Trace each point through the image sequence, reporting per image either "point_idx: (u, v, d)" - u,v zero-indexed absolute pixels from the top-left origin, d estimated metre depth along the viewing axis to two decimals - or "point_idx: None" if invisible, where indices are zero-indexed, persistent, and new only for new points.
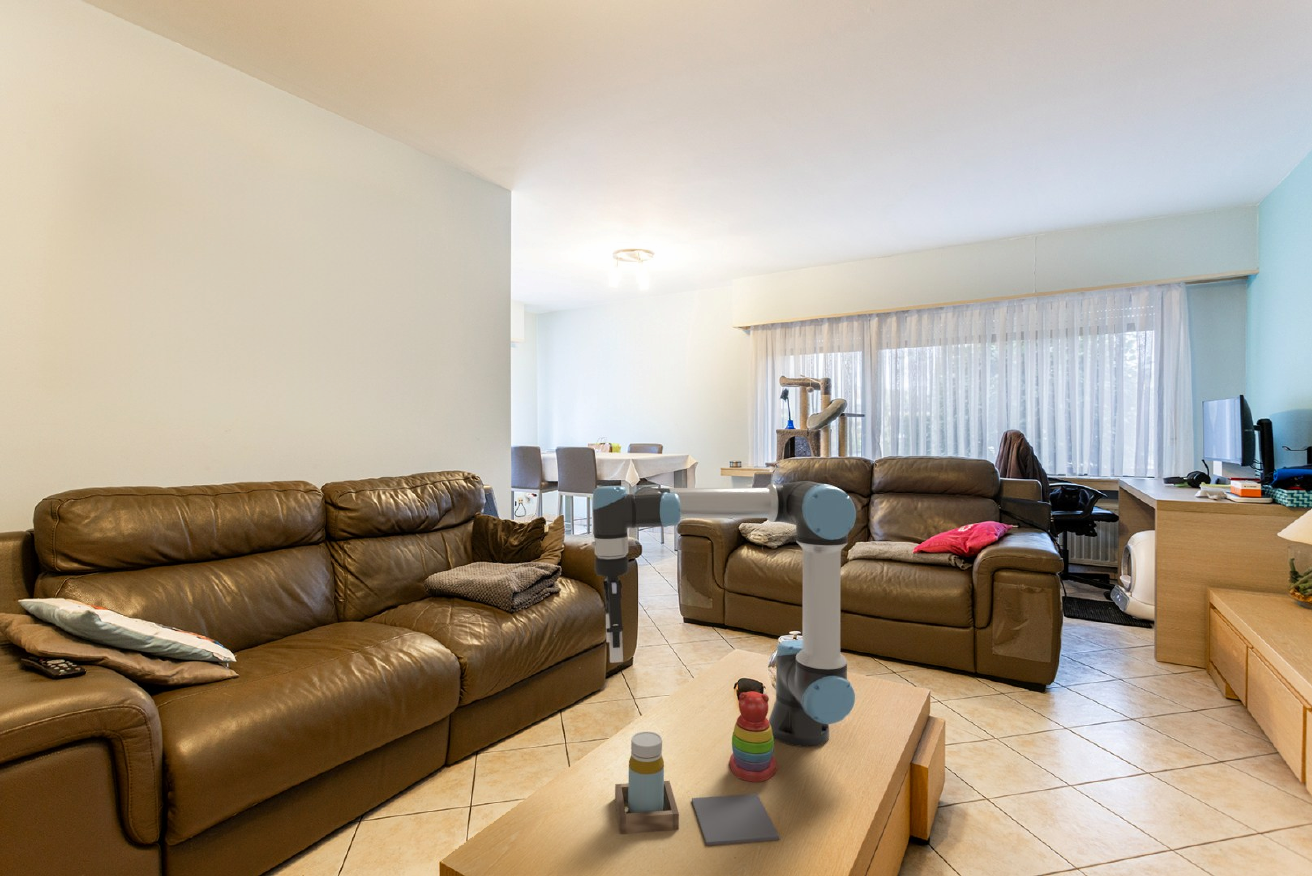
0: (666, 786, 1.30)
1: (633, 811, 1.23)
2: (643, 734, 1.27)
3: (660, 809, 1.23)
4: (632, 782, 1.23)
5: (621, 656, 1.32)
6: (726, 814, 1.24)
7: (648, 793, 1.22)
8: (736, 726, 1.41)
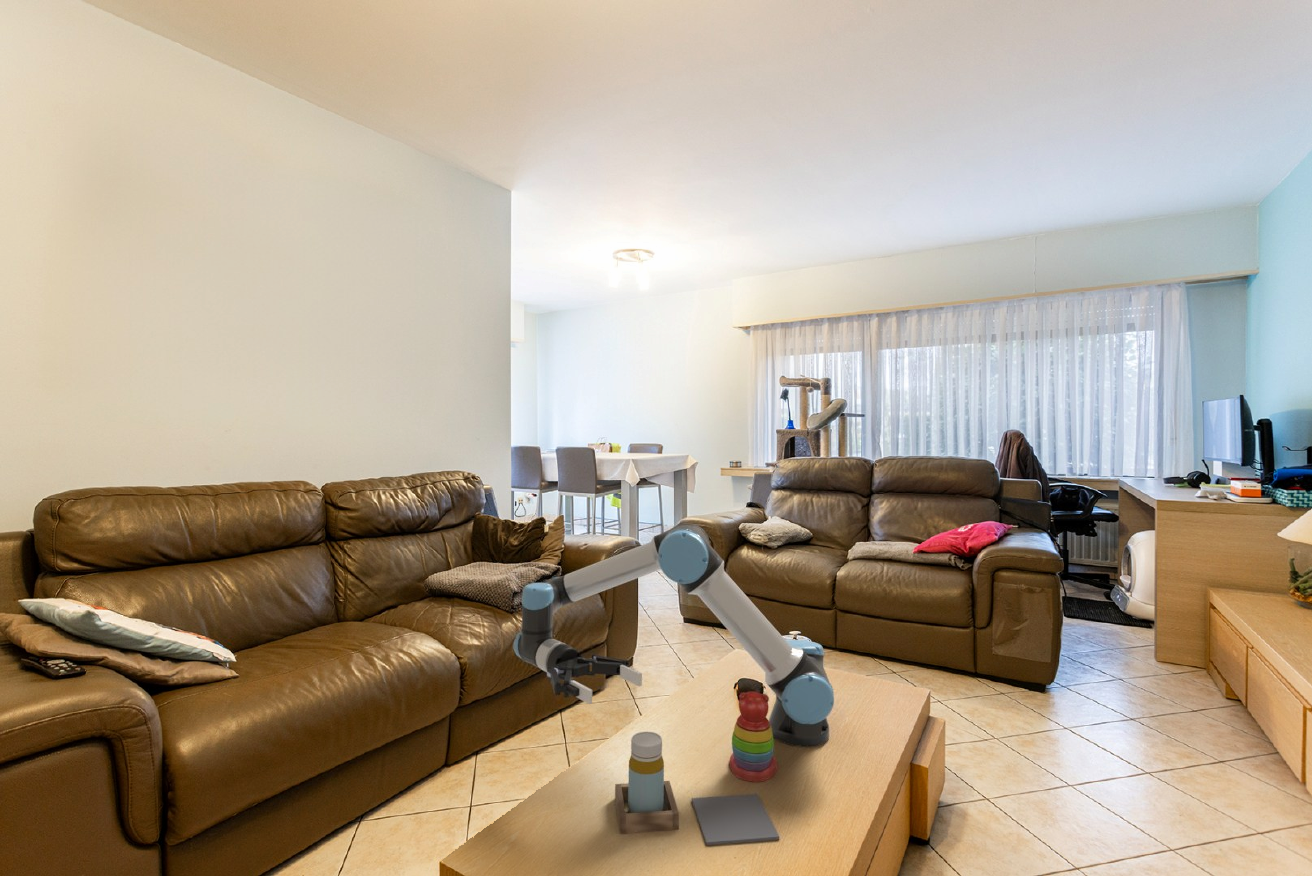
0: (666, 786, 1.30)
1: (633, 811, 1.23)
2: (643, 734, 1.27)
3: (660, 809, 1.23)
4: (632, 782, 1.23)
5: (586, 690, 1.28)
6: (726, 814, 1.24)
7: (648, 793, 1.22)
8: (736, 726, 1.41)
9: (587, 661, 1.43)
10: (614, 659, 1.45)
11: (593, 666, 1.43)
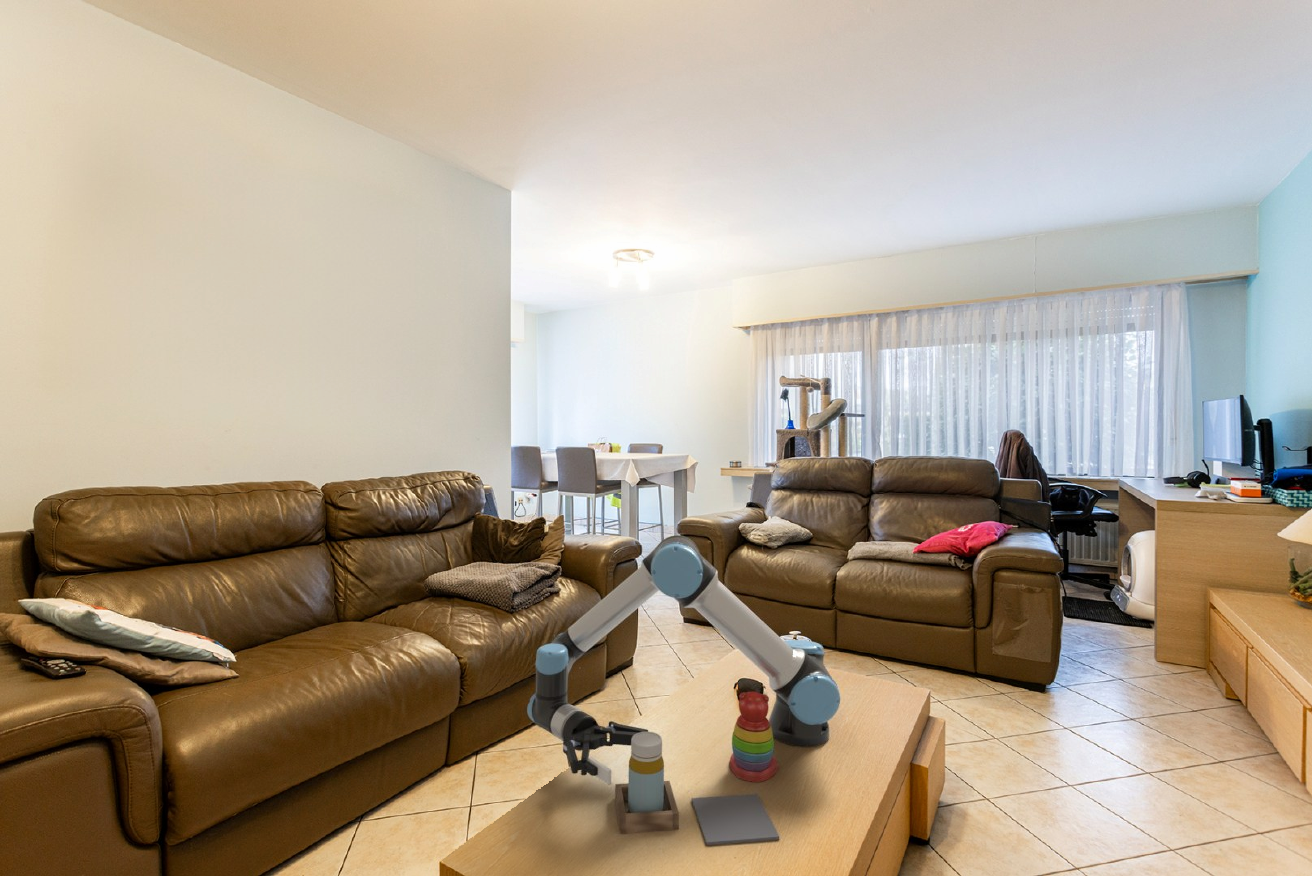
0: (666, 786, 1.30)
1: (633, 811, 1.23)
2: (643, 734, 1.27)
3: (660, 809, 1.23)
4: (632, 782, 1.23)
5: (604, 770, 1.23)
6: (726, 814, 1.24)
7: (648, 793, 1.22)
8: (736, 726, 1.41)
9: (604, 731, 1.38)
10: (632, 728, 1.40)
11: (611, 736, 1.37)
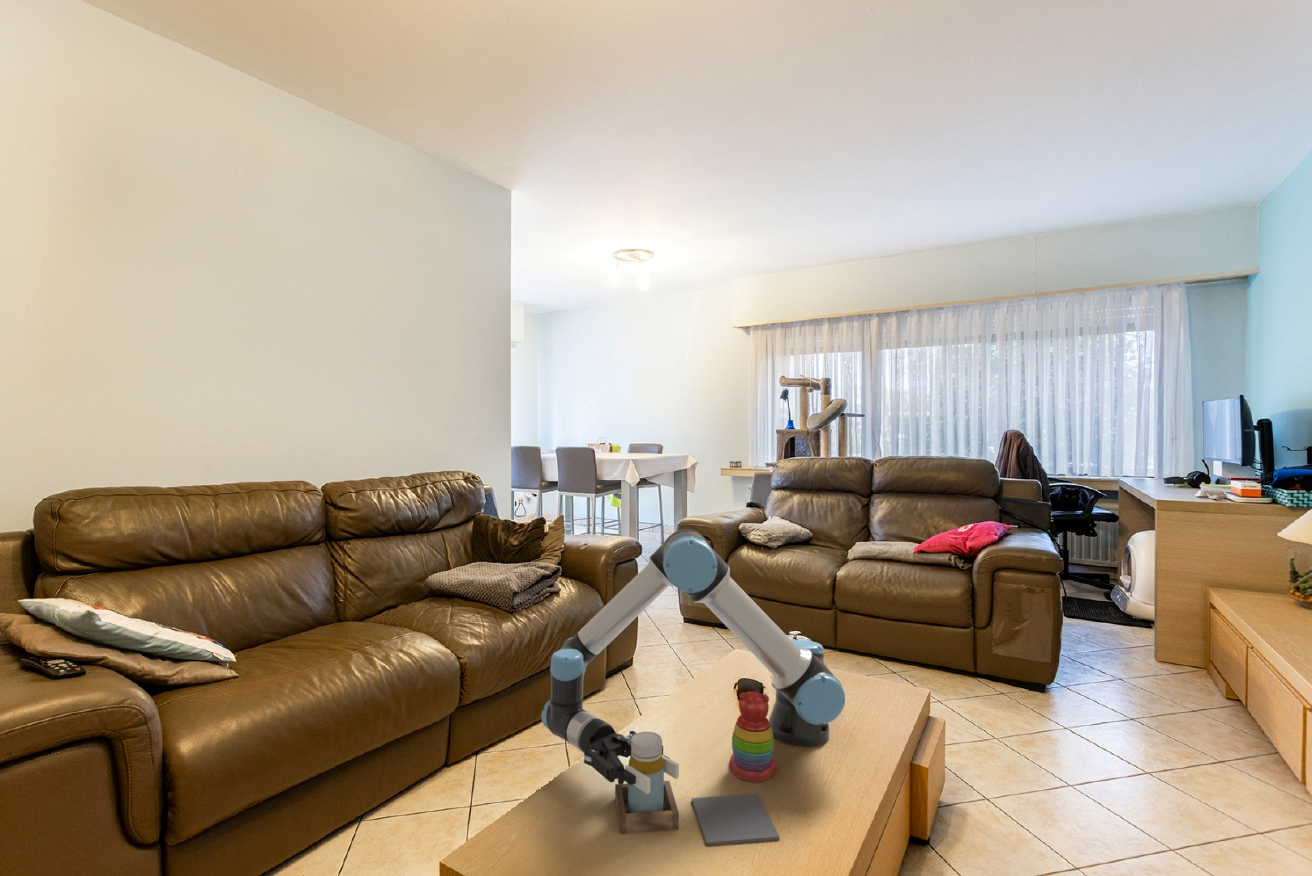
0: (666, 786, 1.30)
1: (633, 811, 1.23)
2: (643, 734, 1.27)
3: (660, 809, 1.23)
4: None
5: (643, 779, 1.20)
6: (726, 814, 1.24)
7: None
8: (736, 726, 1.41)
9: (621, 741, 1.33)
10: None
11: (626, 747, 1.32)
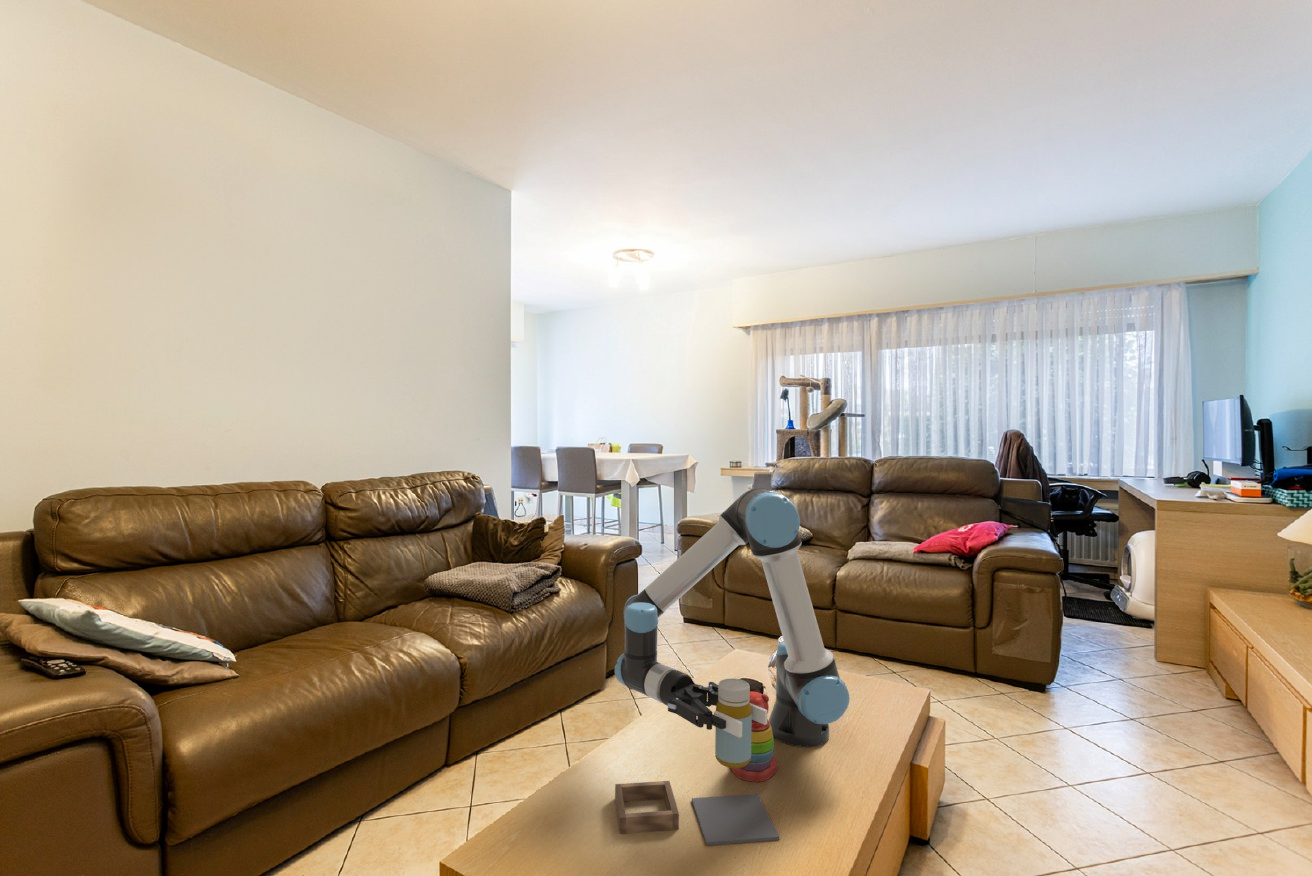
0: (666, 786, 1.30)
1: (722, 757, 1.21)
2: (729, 681, 1.25)
3: (749, 755, 1.22)
4: None
5: (735, 722, 1.18)
6: (726, 814, 1.24)
7: (738, 738, 1.20)
8: None
9: (703, 690, 1.31)
10: None
11: (709, 696, 1.31)
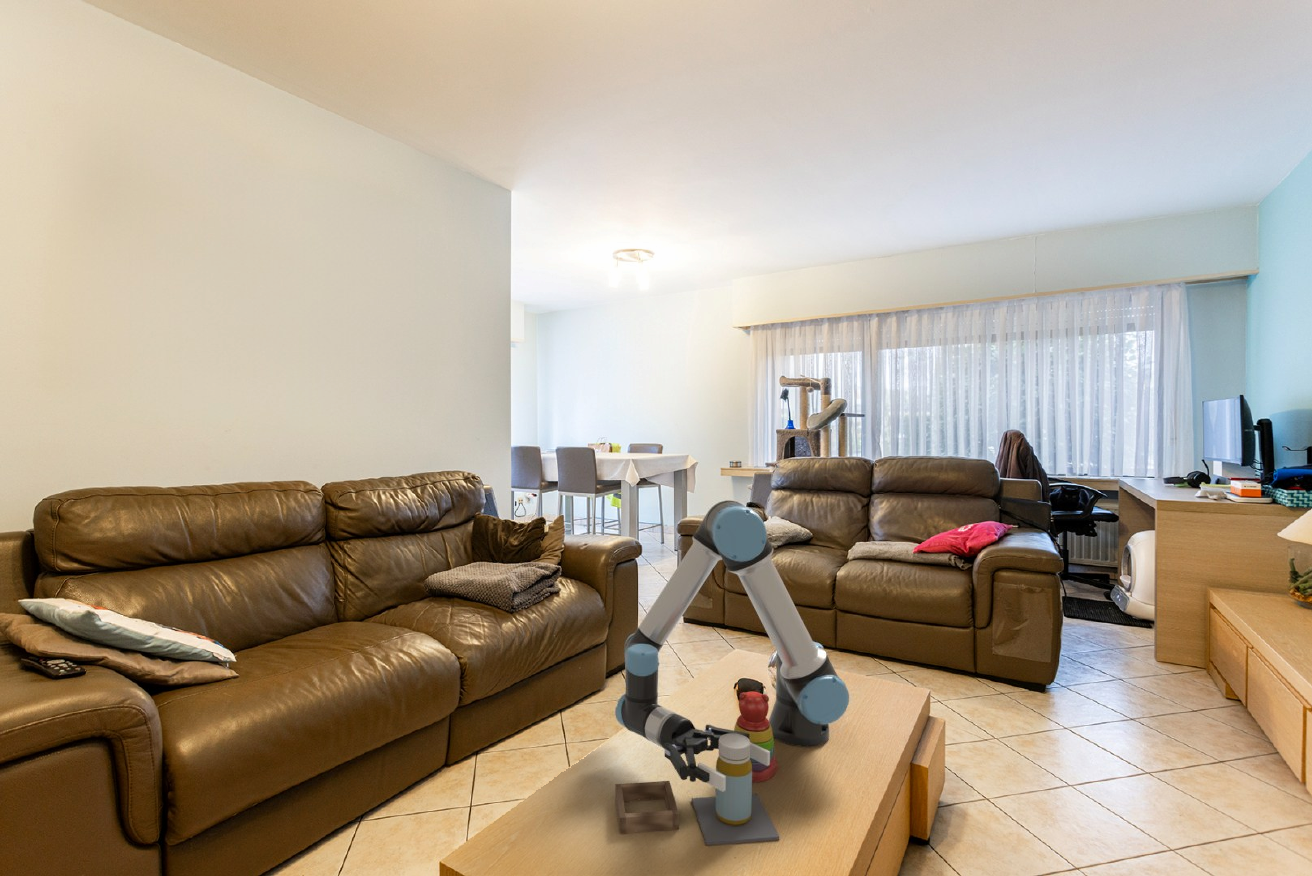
0: (666, 786, 1.30)
1: (722, 814, 1.21)
2: (729, 736, 1.25)
3: (749, 812, 1.22)
4: None
5: (718, 776, 1.17)
6: None
7: (738, 796, 1.20)
8: (736, 726, 1.41)
9: (705, 735, 1.32)
10: (732, 731, 1.34)
11: (711, 740, 1.32)
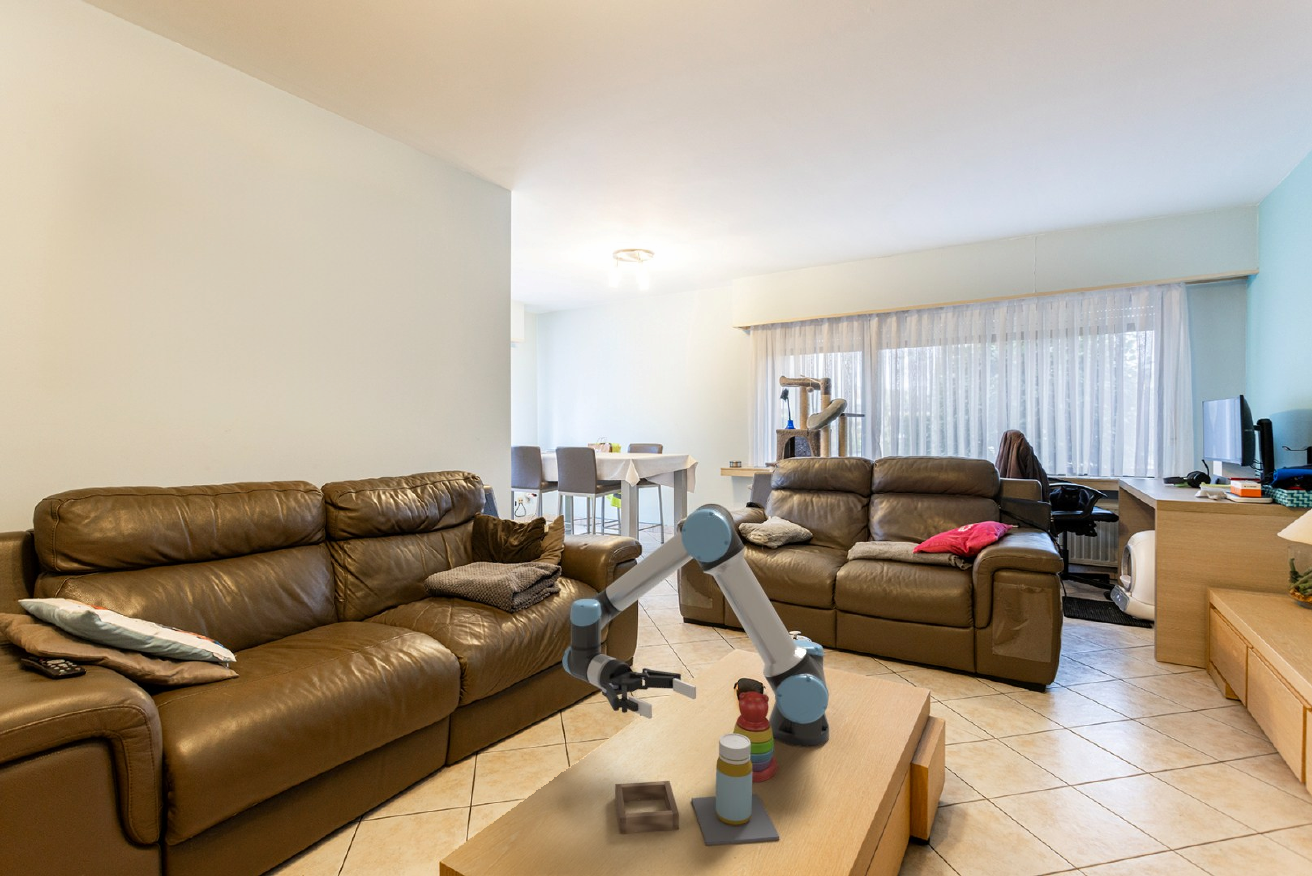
0: (666, 786, 1.30)
1: (722, 814, 1.21)
2: (730, 736, 1.25)
3: (749, 812, 1.22)
4: (721, 785, 1.22)
5: (645, 705, 1.31)
6: None
7: (738, 796, 1.20)
8: (736, 726, 1.41)
9: (640, 675, 1.46)
10: (665, 673, 1.48)
11: (646, 680, 1.45)
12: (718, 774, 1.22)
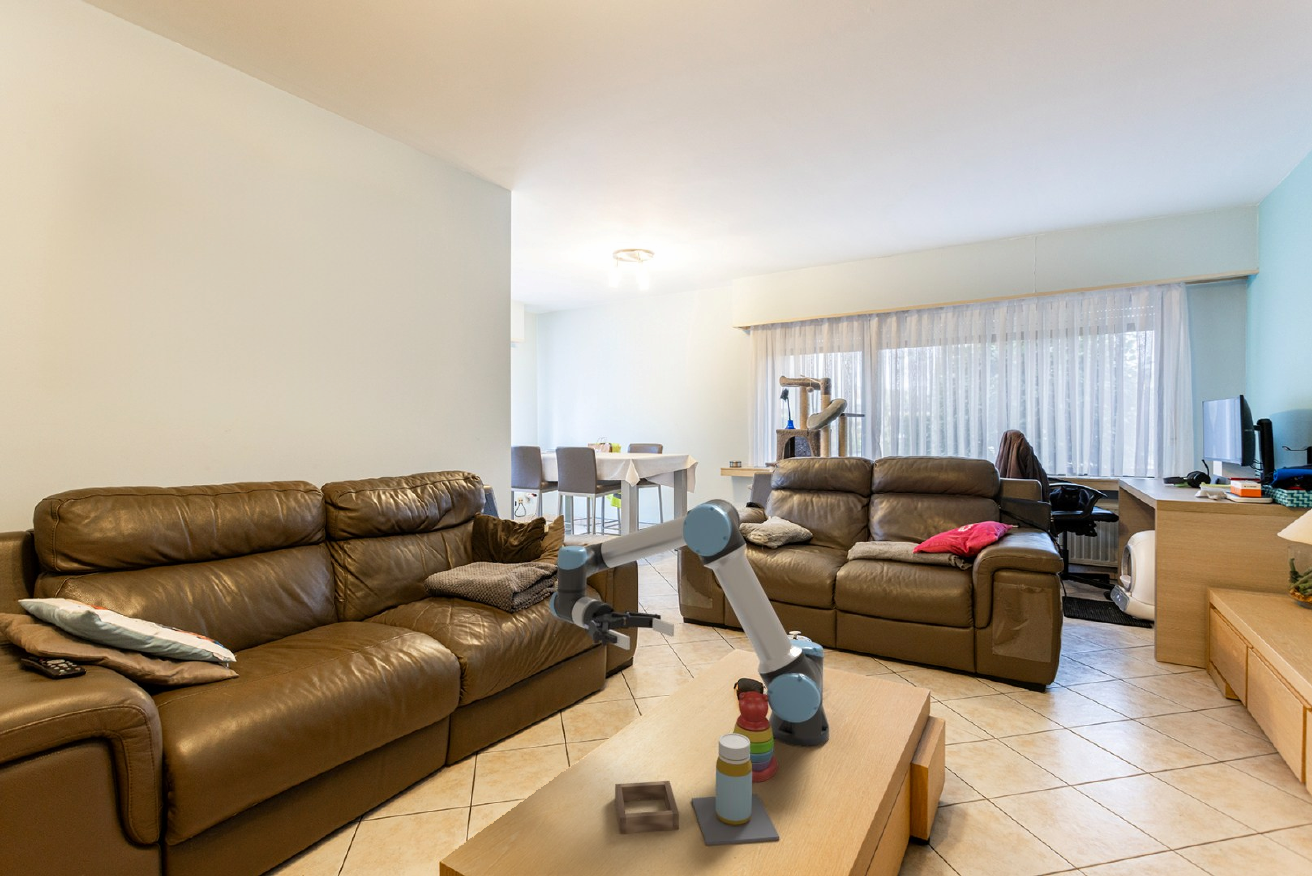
0: (666, 786, 1.30)
1: (722, 814, 1.21)
2: (729, 736, 1.25)
3: (749, 812, 1.22)
4: (721, 785, 1.22)
5: (623, 637, 1.37)
6: None
7: (738, 796, 1.20)
8: (736, 726, 1.41)
9: (621, 615, 1.52)
10: (646, 614, 1.55)
11: (627, 620, 1.52)
12: (718, 774, 1.22)
